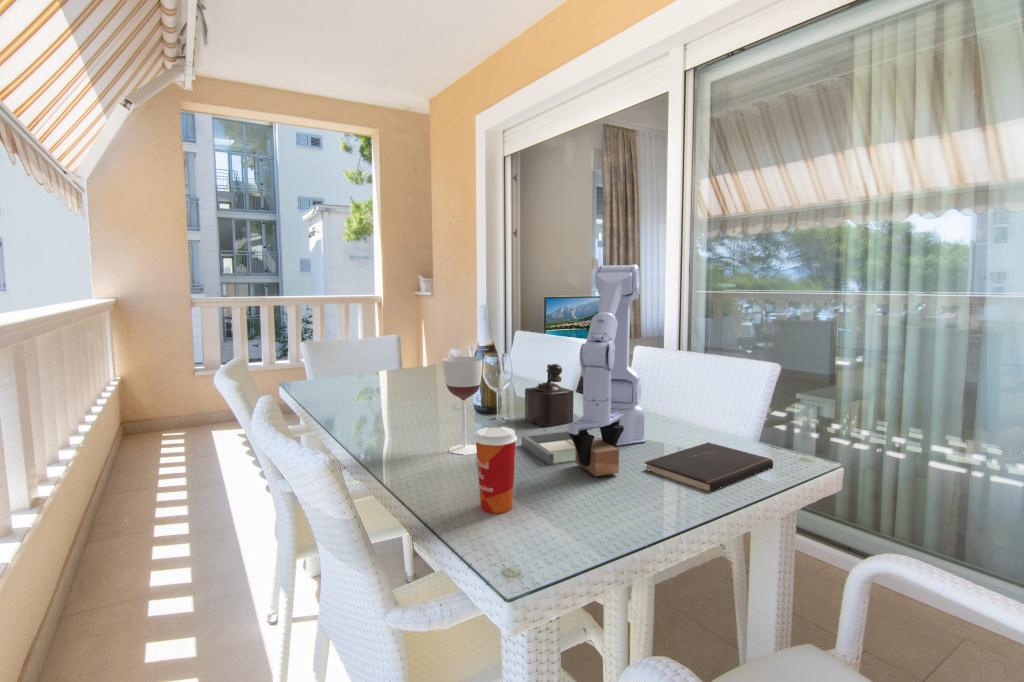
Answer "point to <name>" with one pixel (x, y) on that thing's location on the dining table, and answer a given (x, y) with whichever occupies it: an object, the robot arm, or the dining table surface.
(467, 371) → the wineglass
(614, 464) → the walnut block
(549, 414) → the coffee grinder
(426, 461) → the dining table surface
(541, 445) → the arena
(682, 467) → the hardcover book
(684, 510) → the dining table surface
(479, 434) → the paper cup
